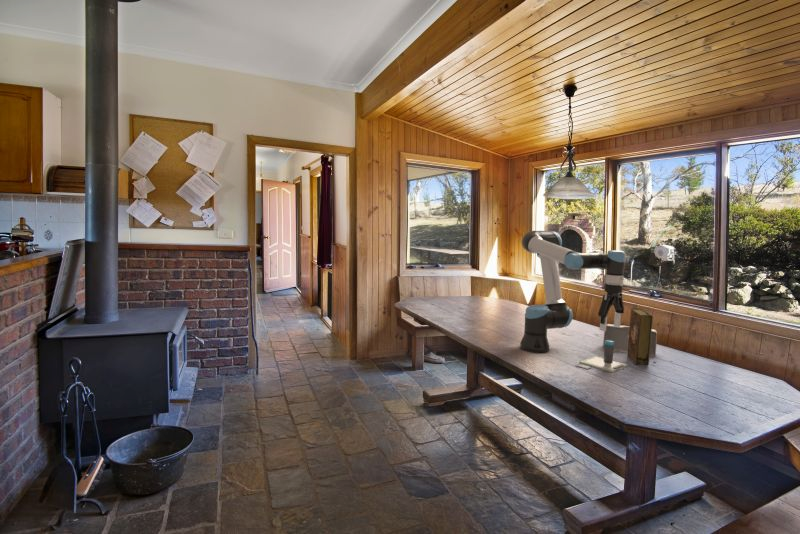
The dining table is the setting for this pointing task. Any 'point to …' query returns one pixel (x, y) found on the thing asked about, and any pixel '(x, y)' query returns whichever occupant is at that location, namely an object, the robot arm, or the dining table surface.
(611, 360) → the marker
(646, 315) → the book
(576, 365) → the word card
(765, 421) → the dining table surface
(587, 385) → the dining table surface
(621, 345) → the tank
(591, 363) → the cream square framed board
